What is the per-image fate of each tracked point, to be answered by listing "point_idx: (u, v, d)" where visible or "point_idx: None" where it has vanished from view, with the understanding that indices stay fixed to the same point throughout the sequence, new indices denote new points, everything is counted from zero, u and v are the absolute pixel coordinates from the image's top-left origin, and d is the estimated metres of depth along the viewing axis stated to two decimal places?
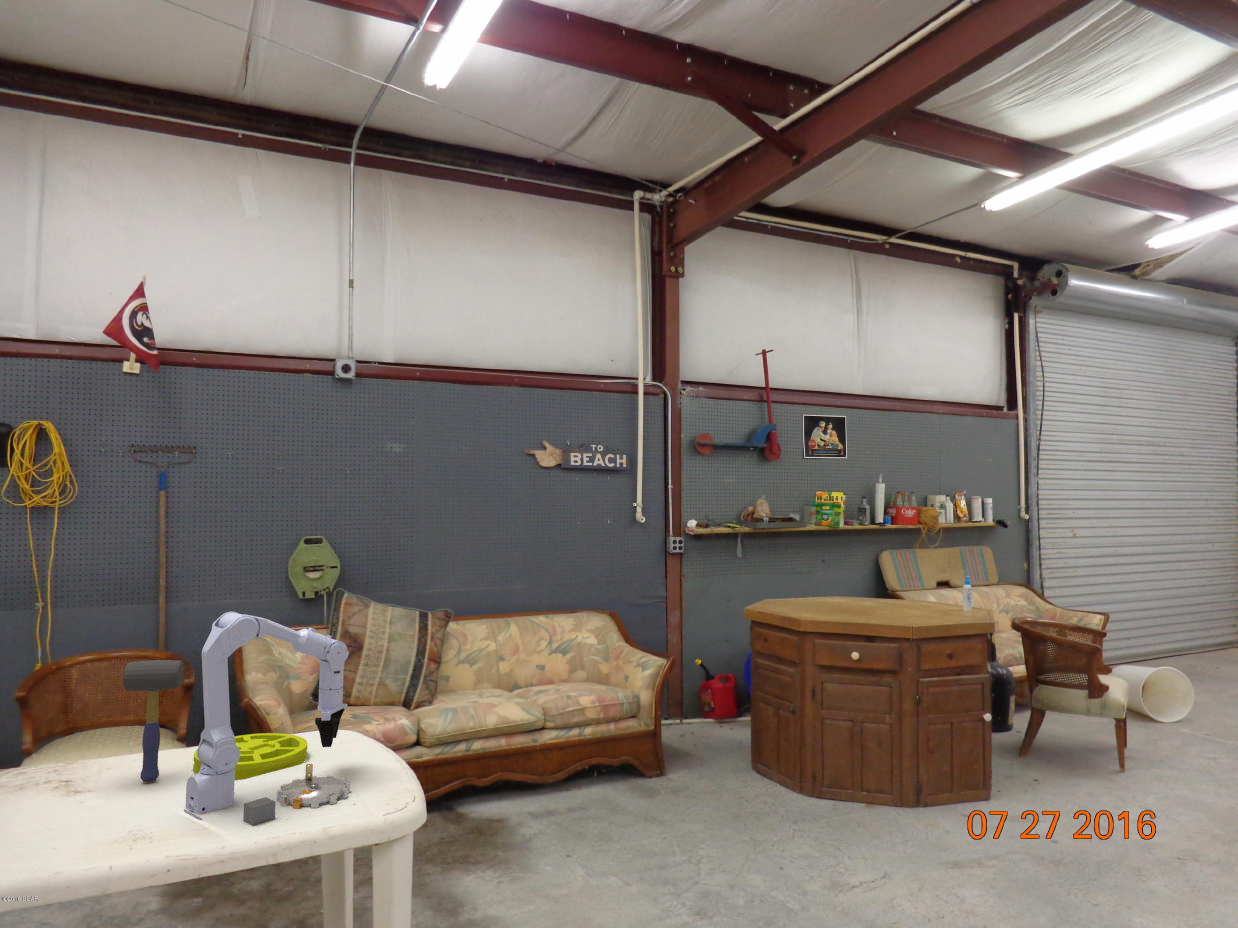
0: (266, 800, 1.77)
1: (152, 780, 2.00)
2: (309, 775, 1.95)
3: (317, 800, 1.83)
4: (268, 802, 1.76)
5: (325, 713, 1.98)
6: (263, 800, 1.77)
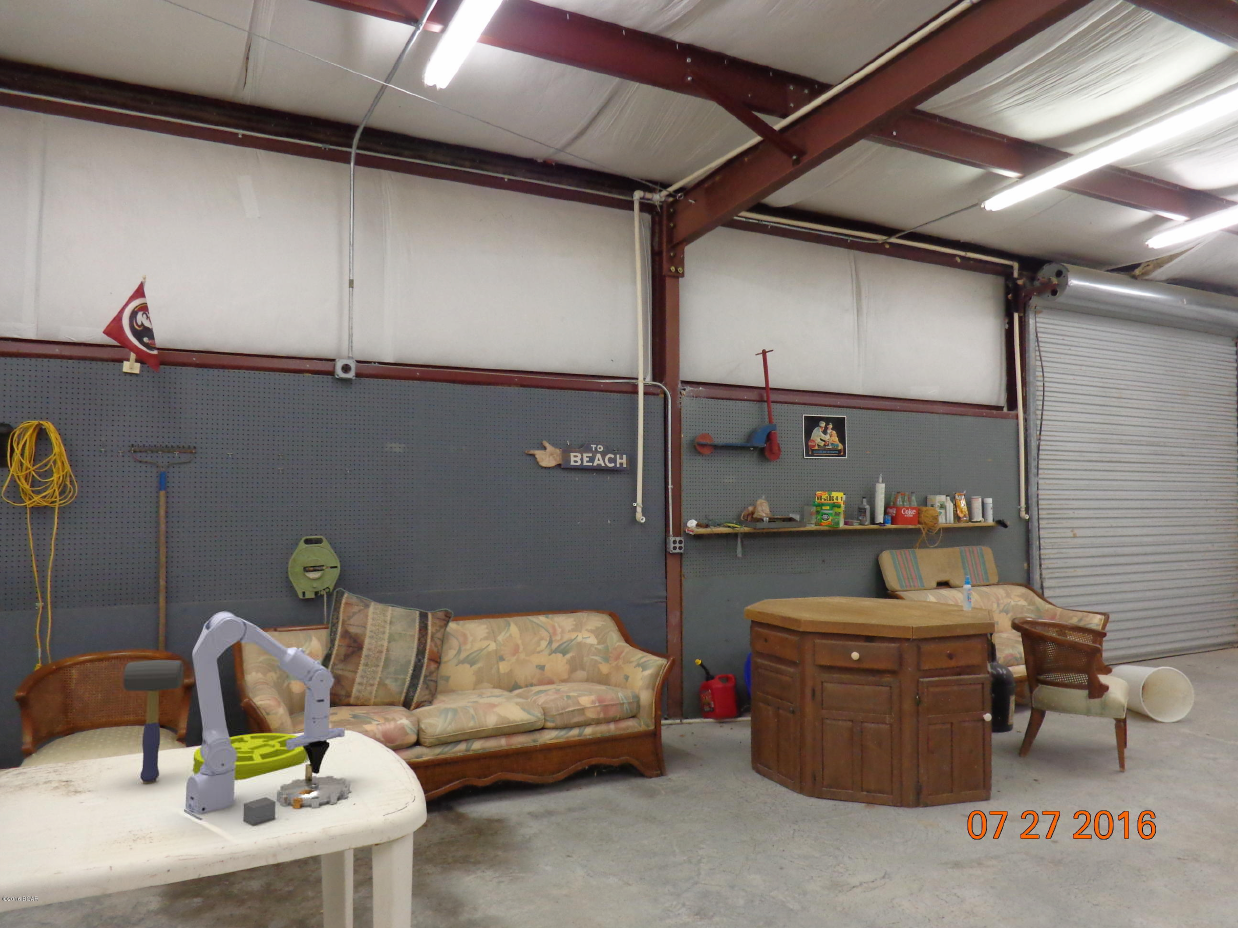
0: (266, 800, 1.77)
1: (152, 780, 2.00)
2: (309, 775, 1.95)
3: (317, 800, 1.83)
4: (268, 802, 1.76)
5: (288, 741, 1.92)
6: (263, 800, 1.77)
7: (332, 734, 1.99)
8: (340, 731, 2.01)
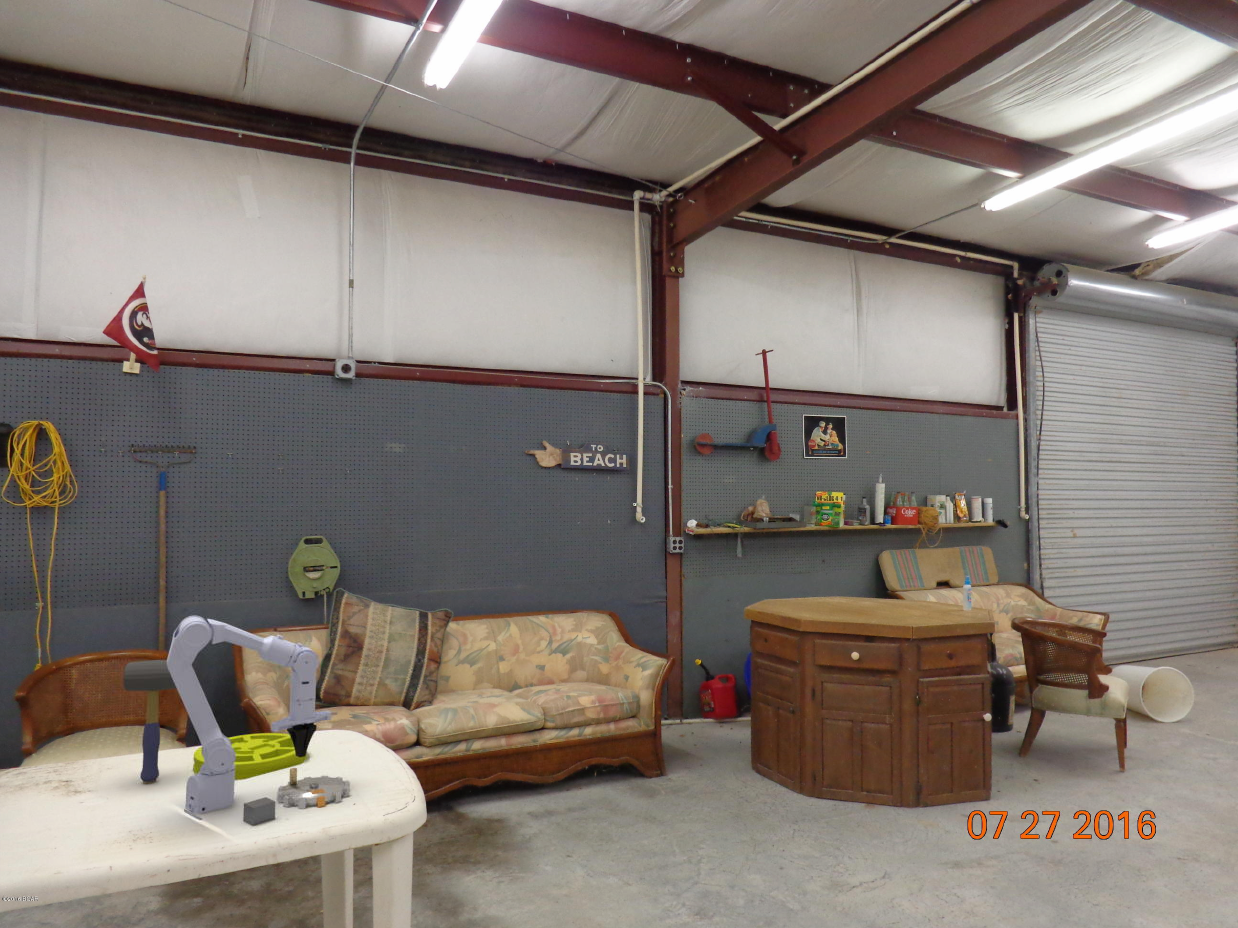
0: (266, 800, 1.77)
1: (152, 780, 2.00)
2: (295, 779, 1.92)
3: (340, 794, 1.87)
4: (268, 802, 1.76)
5: (273, 724, 1.89)
6: (263, 800, 1.77)
7: (318, 717, 1.96)
8: (326, 714, 1.98)
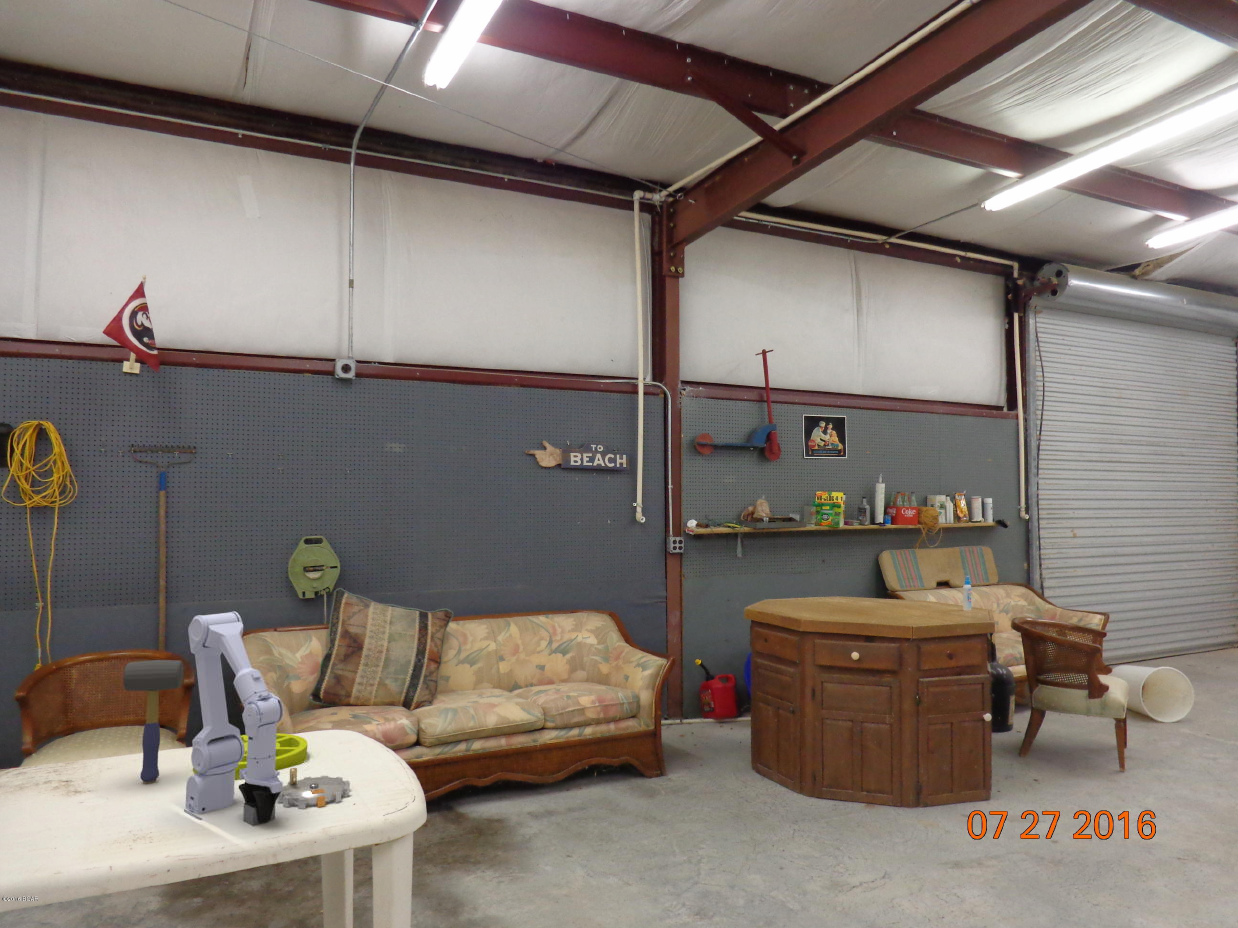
0: None
1: (152, 780, 2.00)
2: (295, 779, 1.92)
3: (340, 794, 1.87)
4: None
5: (277, 784, 1.72)
6: None
7: None
8: None
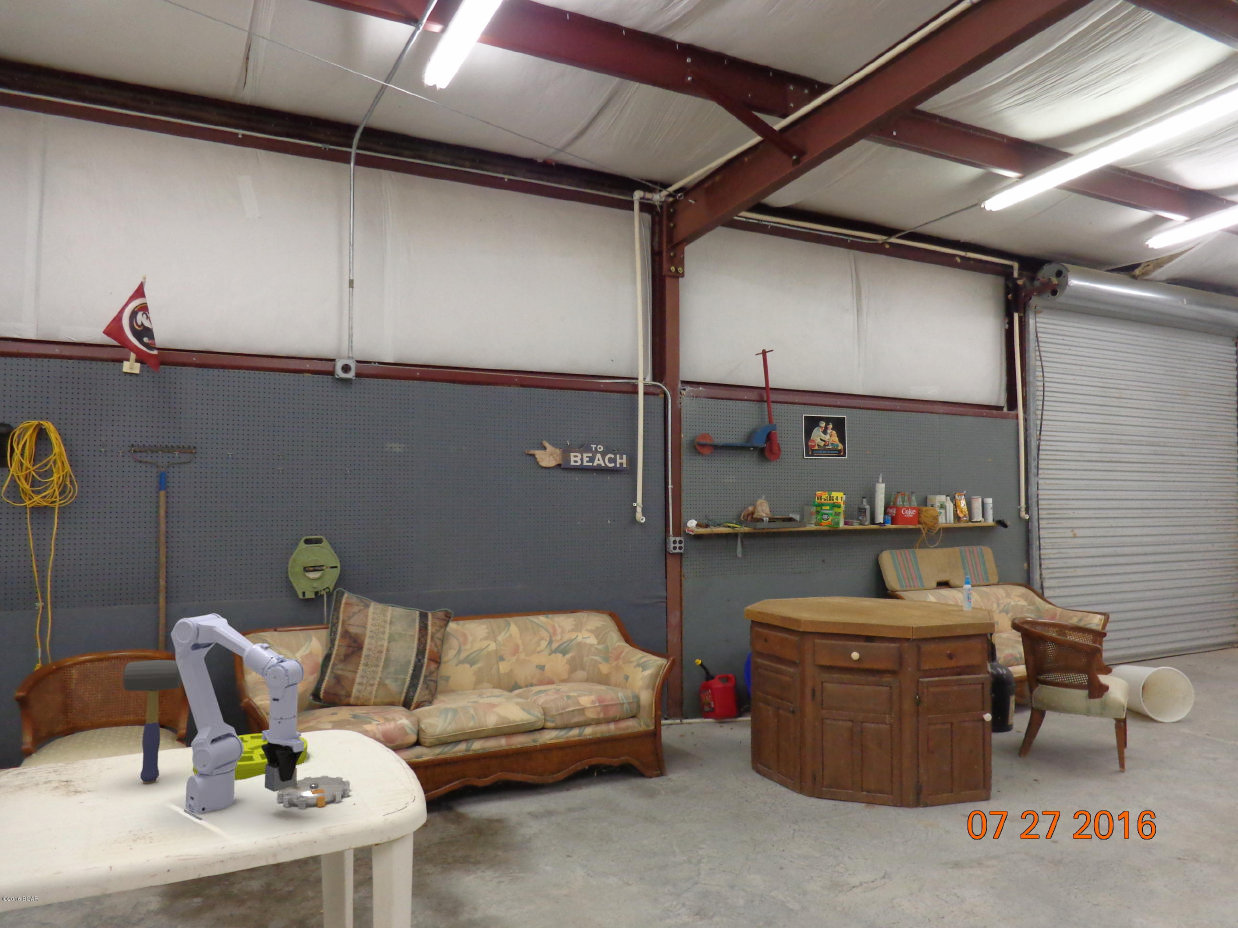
0: None
1: (152, 780, 2.00)
2: None
3: (340, 794, 1.87)
4: None
5: (299, 743, 1.76)
6: None
7: None
8: None
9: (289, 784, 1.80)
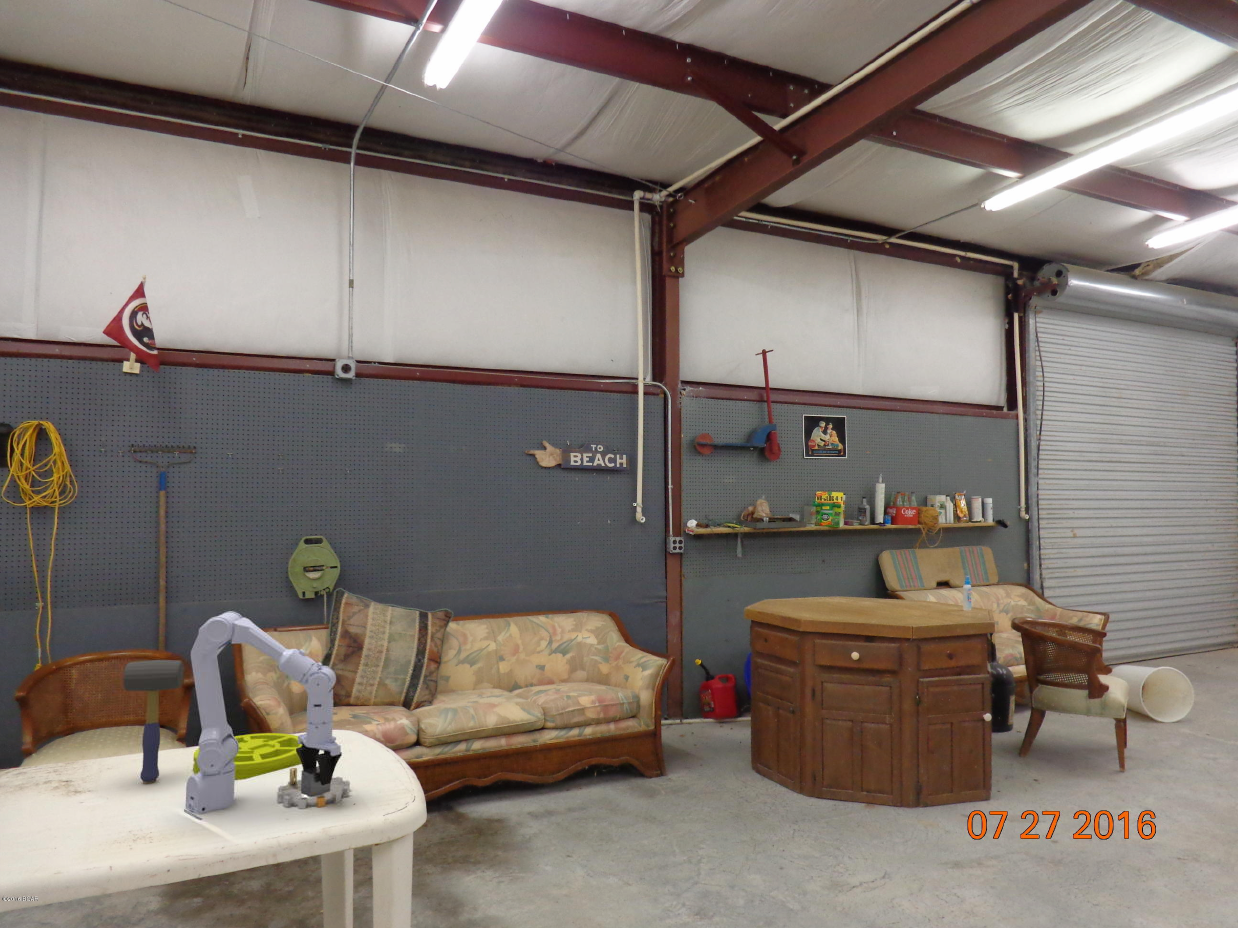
0: None
1: (152, 780, 2.00)
2: (295, 779, 1.92)
3: (340, 794, 1.87)
4: None
5: (336, 747, 1.84)
6: None
7: None
8: None
9: (324, 789, 1.87)
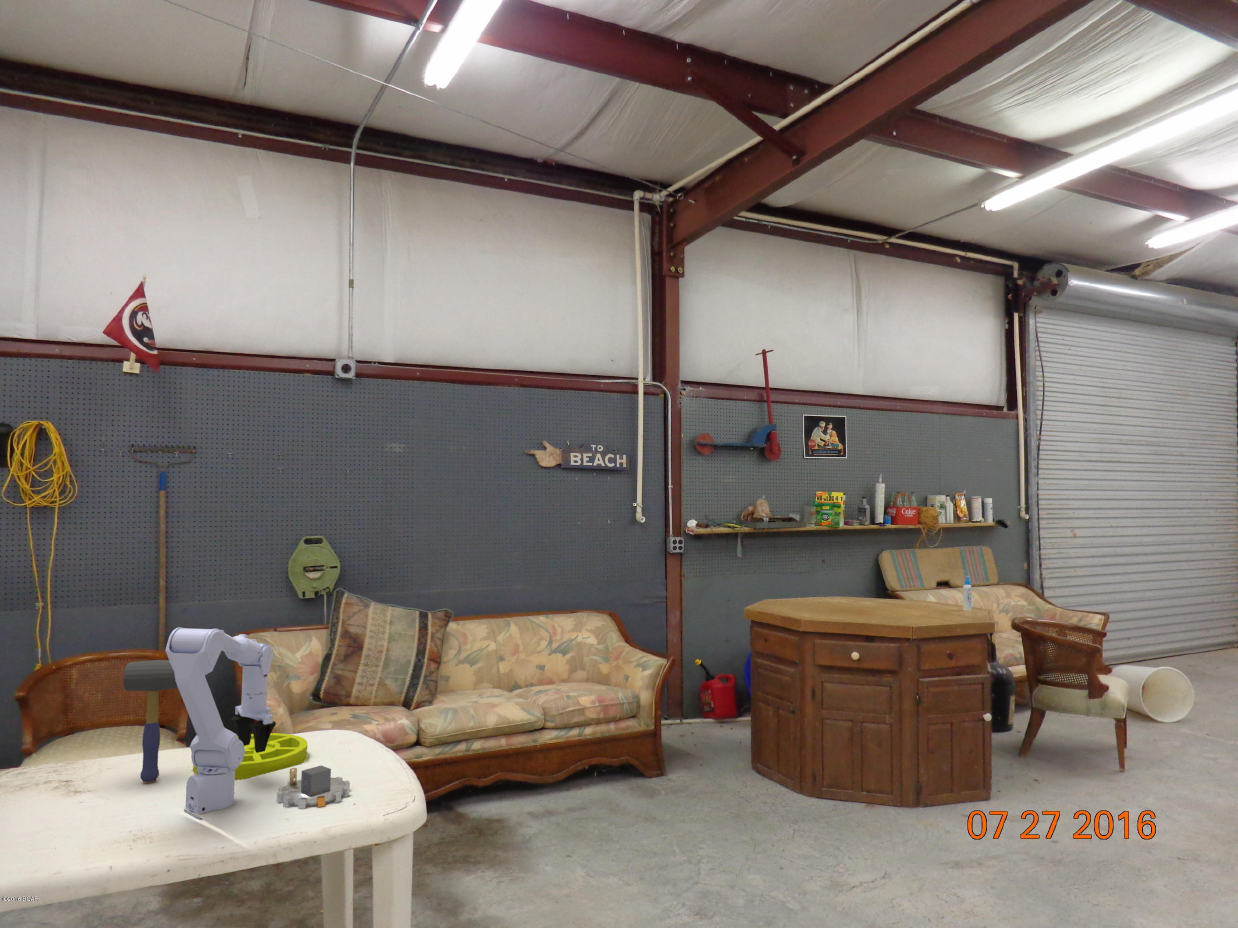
0: (322, 768, 1.89)
1: (152, 780, 2.00)
2: (295, 779, 1.92)
3: (340, 794, 1.87)
4: (324, 769, 1.88)
5: (268, 716, 1.95)
6: (319, 768, 1.89)
7: None
8: None
9: (324, 789, 1.87)
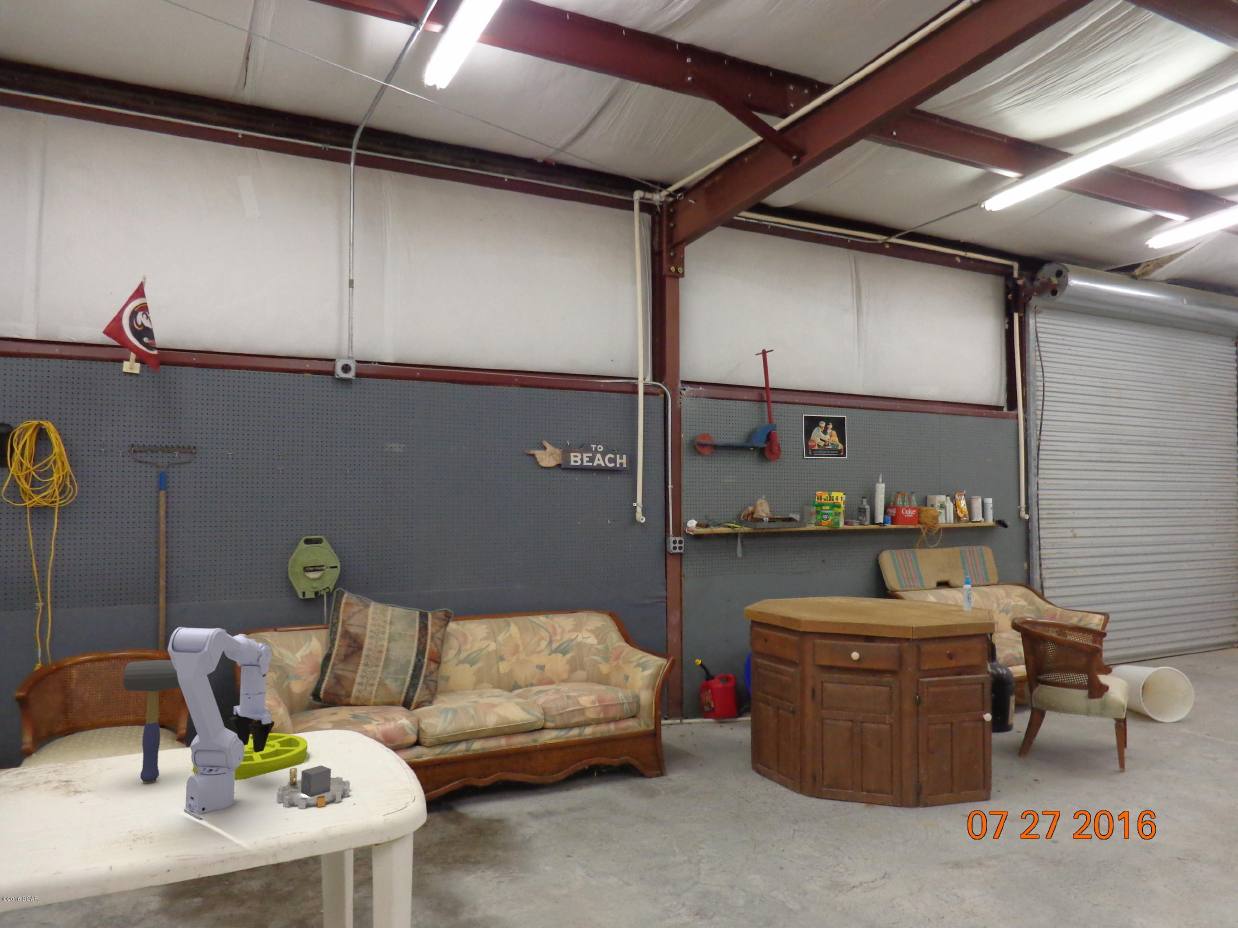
0: (322, 768, 1.89)
1: (152, 780, 2.00)
2: (295, 779, 1.92)
3: (340, 794, 1.87)
4: (324, 769, 1.88)
5: (267, 716, 1.95)
6: (319, 768, 1.89)
7: None
8: None
9: (324, 789, 1.87)
